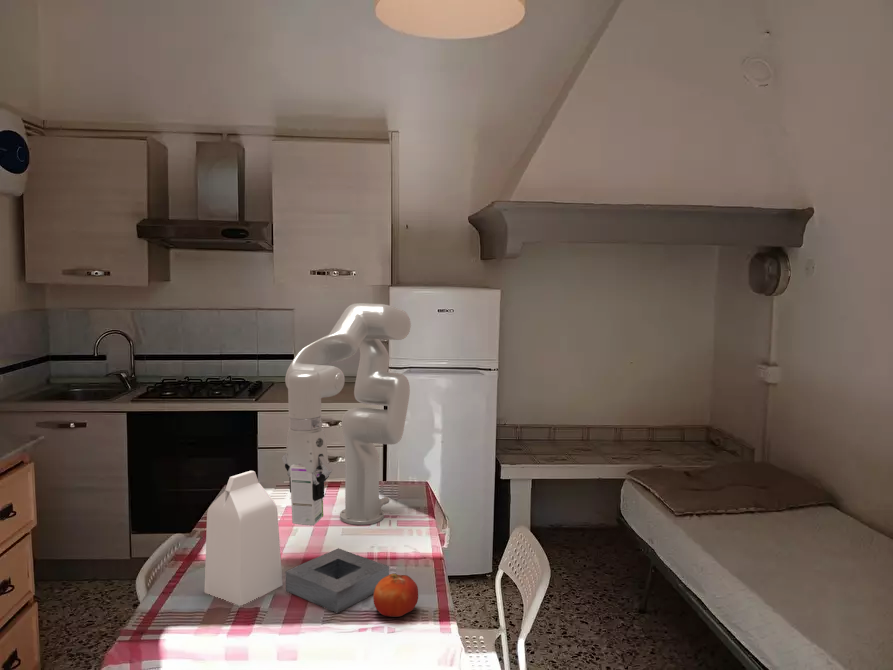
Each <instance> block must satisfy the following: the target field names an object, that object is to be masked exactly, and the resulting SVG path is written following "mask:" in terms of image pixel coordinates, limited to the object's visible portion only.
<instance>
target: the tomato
mask: <svg viewBox="0 0 893 670" xmlns="http://www.w3.org/2000/svg"><path fill="white" fill-rule="evenodd" d="M372 596H373V598H372V599H373V604H374V608H375V609H376V610H377V611H378V612H379V614H381V615H382V616H385V617H393V618H397V617H402V616H404V615H405V614H408V613H410V612H412V611H413V610H414V608H415V607H416V606H417V603H418V601H419V587H418V584H417V583H416V582H415V580H413V579H412V577H410V576H409V575H407V574H397V573H389V575H388V576H386V577H384V578H383V579H381V580H380V581H379V582H378V584H377V585H376V587H375V590H374V594H372Z"/></svg>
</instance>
